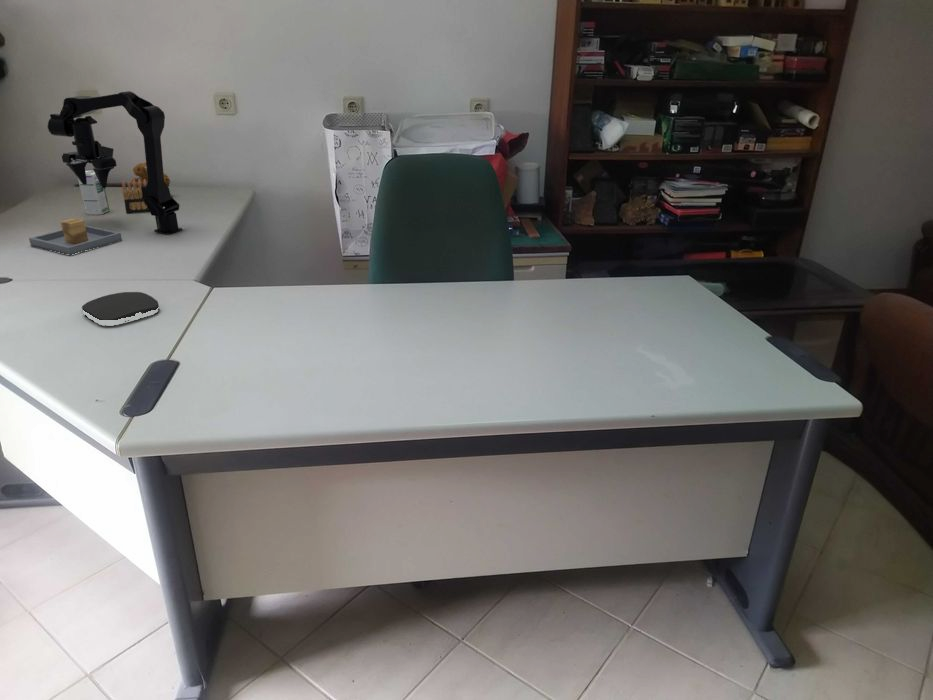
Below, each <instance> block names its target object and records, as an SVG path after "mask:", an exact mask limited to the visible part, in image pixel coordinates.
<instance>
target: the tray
mask: <svg viewBox="0 0 933 700" xmlns="http://www.w3.org/2000/svg"><path fill="white" fill-rule="evenodd" d="M85 228H86V232H87V236H88V241H86V242H82V243H79V244H72V243H68V242H66V241H65V237H64V233H63V229H58V230H55V231H52V232H48V233H44V234H40V235H35V236H32V237H29V238H28V241H29V243H30V246H31V247H33V248H37V247H38V248H37V249H41V248H42V249H41V250H45V249H47V250H46V251H49V250H52V251H51V252H53V251H56V252H55V253H57V252H60V253H59V254H61V253H64V254H63V255H65V254H69V255H72V254H75V253H78V252H81V251H85V250H89V249H92V250H94V249H93V248H96V249H98V248H97V247H99V248H101V246H102V247H105V246H109V245H111V243H112V244H115V243H118V242H121V241H123V239H122V238H123V237H122V234H121V232H118V231H113V230H108V229H104V228H101V227H100V228H99V227H96V226H91V225H86V224H85ZM108 244H109V245H108ZM104 245H105V246H104ZM89 251H90V250H89ZM69 255H68V256H69ZM72 256H73V255H72Z"/></svg>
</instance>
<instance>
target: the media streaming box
mask: <svg viewBox="0 0 933 700" xmlns="http://www.w3.org/2000/svg"><path fill="white" fill-rule="evenodd" d="M158 307H159V308H160V306H159V302H158V300H157V299H156V298H154V297H153V296H151V295H149V294H147V293H146V292H145V293H144V292H140V291H125V292H122V291H121V292H117V293H111V294H107V295H104V296H101V297H98V298H95V299H92V300H89V301H87V302H86V303H84V304H83V305H82V307H81V310H82V311H83V310H84V311H85V312H87V313H89V314H90V315H92V316H93V317H95V318H97V319H99V320H118V319H121V318H126V317H131V316H135V314H136V313H139V312H141V313H142V314H143V313H146V312H148V311H151V310H156V309H157V308H158Z"/></svg>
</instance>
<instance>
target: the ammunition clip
mask: <svg viewBox="0 0 933 700" xmlns="http://www.w3.org/2000/svg"><path fill="white" fill-rule="evenodd" d="M132 179H133V178H132ZM131 183H132V182H131V181H130V179H127V183H126V182H125V180H124V179H122V180H121V187H122V196H123V200H124V207H125V213H126V214H127V215H128V214H129V215H130V214H142V213H145V214H146V213H150V211H149V209H148V207H147V206H146V205H145V203H144V199H142V190H141V187H142V184H141V181H140V179H138V187H139V188H137V185H136V182H135V180H134V179H133V183H132V184H133V186H132V184H131ZM126 184H127V185H126ZM145 185H147V182H146V180H145V179H144V186H145ZM138 190H139V192H138ZM139 196H140V197H139Z"/></svg>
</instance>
